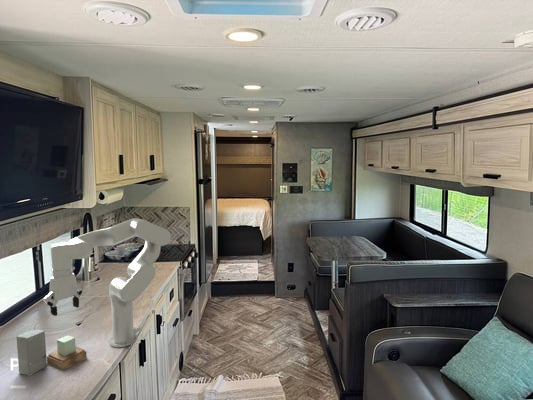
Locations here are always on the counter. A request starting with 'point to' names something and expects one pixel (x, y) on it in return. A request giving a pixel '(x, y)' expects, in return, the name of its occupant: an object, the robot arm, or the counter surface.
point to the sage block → (66, 345)
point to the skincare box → (31, 351)
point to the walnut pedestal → (66, 358)
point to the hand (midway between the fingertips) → (65, 310)
